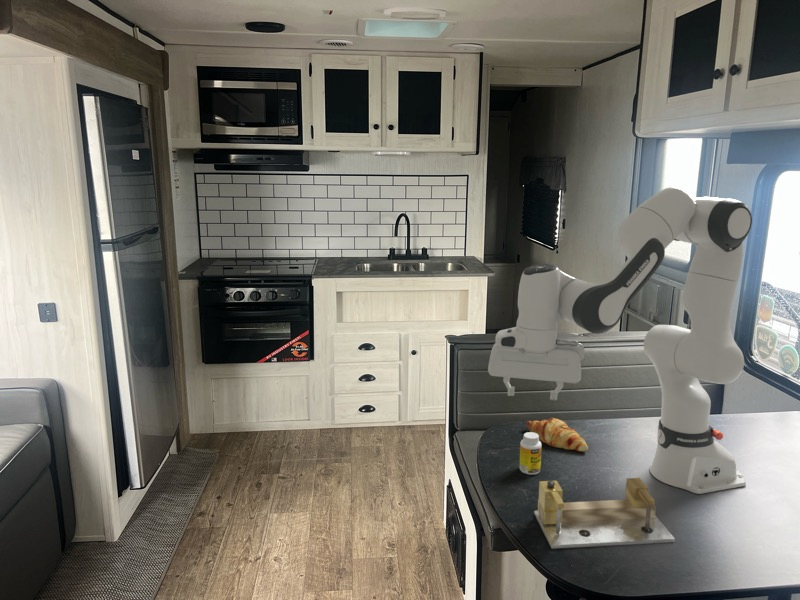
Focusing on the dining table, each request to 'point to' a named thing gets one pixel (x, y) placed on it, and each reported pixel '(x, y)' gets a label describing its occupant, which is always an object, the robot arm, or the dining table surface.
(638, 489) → the trammel beam
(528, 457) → the supplement bottle
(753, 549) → the dining table surface
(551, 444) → the croissant
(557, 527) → the sliding leg
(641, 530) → the flange plate
